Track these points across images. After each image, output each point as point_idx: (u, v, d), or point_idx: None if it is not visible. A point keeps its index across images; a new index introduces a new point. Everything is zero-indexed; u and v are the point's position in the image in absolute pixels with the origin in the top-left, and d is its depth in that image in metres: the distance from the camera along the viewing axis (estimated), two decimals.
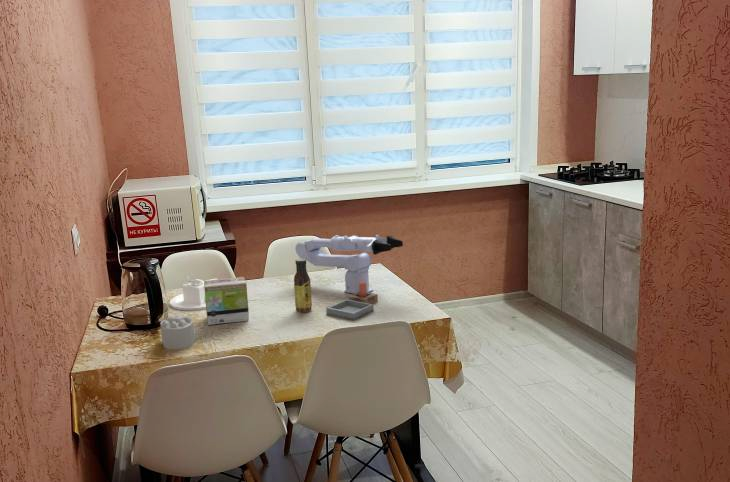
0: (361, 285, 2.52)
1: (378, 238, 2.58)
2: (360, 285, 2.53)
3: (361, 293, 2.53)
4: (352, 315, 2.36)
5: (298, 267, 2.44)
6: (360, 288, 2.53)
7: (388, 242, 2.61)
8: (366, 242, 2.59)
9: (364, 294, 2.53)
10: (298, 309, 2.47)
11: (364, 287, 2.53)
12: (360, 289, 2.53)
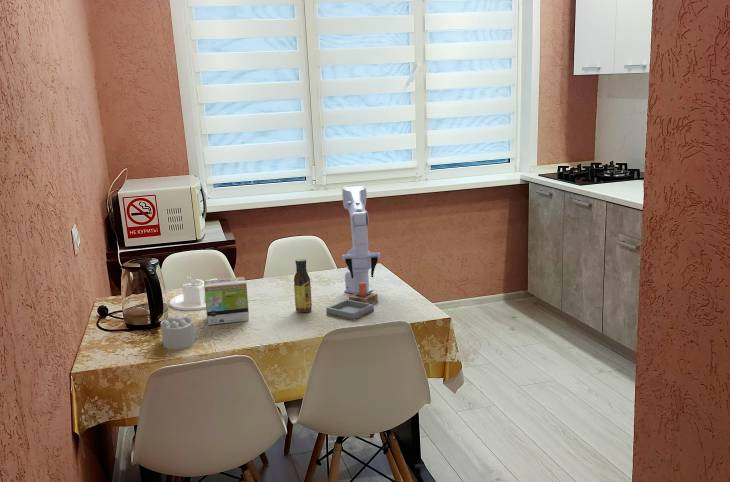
0: (361, 285, 2.52)
1: None
2: (360, 285, 2.53)
3: (361, 293, 2.53)
4: (352, 315, 2.36)
5: (298, 267, 2.44)
6: (360, 288, 2.53)
7: (371, 260, 2.51)
8: (354, 246, 2.49)
9: (364, 294, 2.53)
10: (298, 309, 2.47)
11: (364, 287, 2.53)
12: (360, 289, 2.53)
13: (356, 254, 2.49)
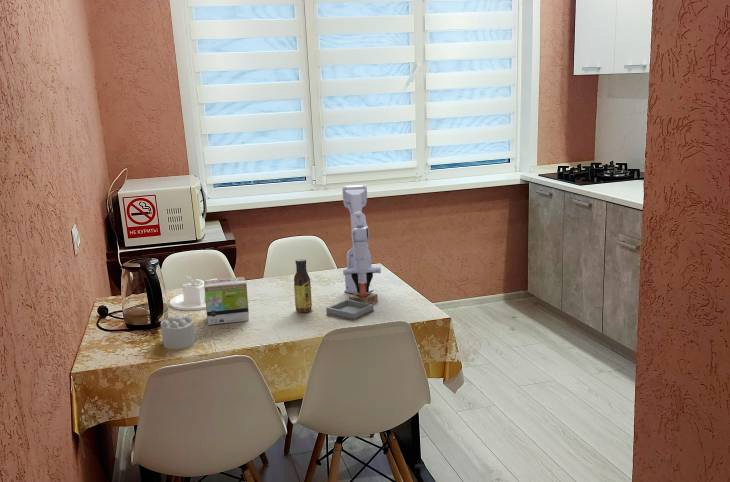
0: (361, 285, 2.52)
1: None
2: (360, 285, 2.53)
3: (361, 293, 2.53)
4: (352, 315, 2.36)
5: (298, 267, 2.44)
6: (360, 288, 2.53)
7: (366, 275, 2.53)
8: (355, 261, 2.50)
9: (364, 294, 2.53)
10: (298, 309, 2.47)
11: (364, 287, 2.53)
12: (360, 289, 2.53)
13: (357, 269, 2.50)
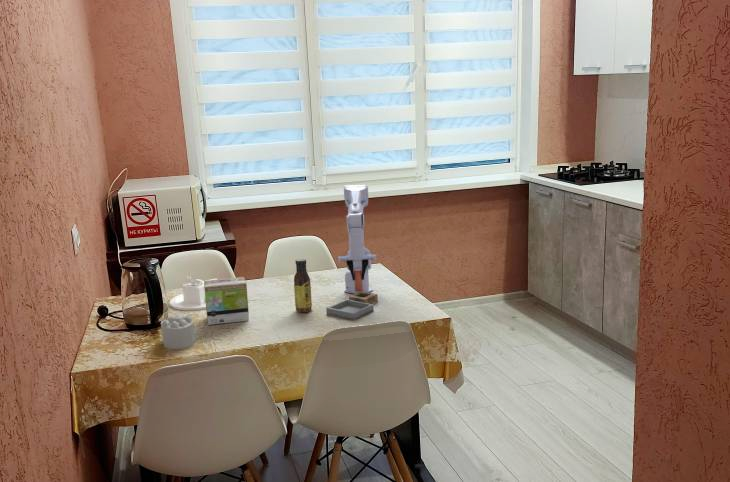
0: (356, 272, 2.48)
1: None
2: (355, 272, 2.48)
3: (356, 281, 2.48)
4: (352, 315, 2.36)
5: (298, 267, 2.44)
6: (355, 275, 2.48)
7: (362, 262, 2.48)
8: (350, 247, 2.46)
9: (359, 282, 2.48)
10: (298, 309, 2.47)
11: (359, 274, 2.48)
12: (355, 277, 2.48)
13: (352, 256, 2.45)
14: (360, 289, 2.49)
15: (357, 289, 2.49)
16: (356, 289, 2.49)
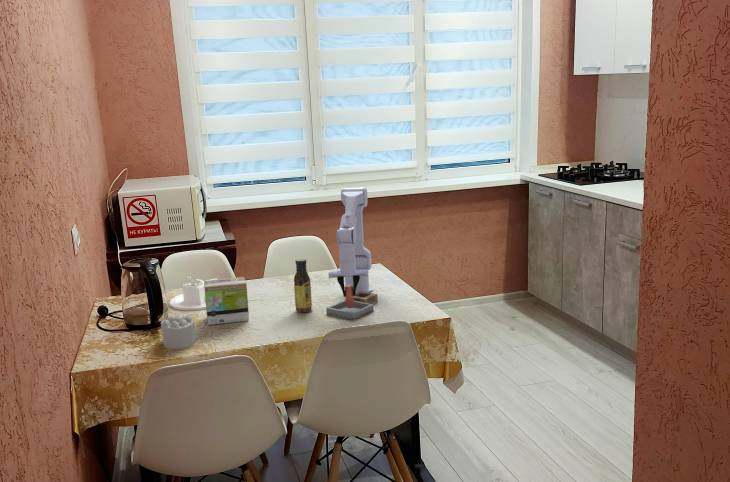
0: (347, 288, 2.41)
1: None
2: (346, 288, 2.41)
3: (347, 297, 2.42)
4: (352, 315, 2.36)
5: (298, 267, 2.44)
6: (346, 292, 2.41)
7: (353, 278, 2.41)
8: (340, 263, 2.39)
9: (350, 298, 2.42)
10: (298, 309, 2.47)
11: (350, 291, 2.41)
12: (346, 293, 2.42)
13: (343, 272, 2.39)
14: (351, 305, 2.42)
15: (348, 305, 2.42)
16: (347, 305, 2.43)
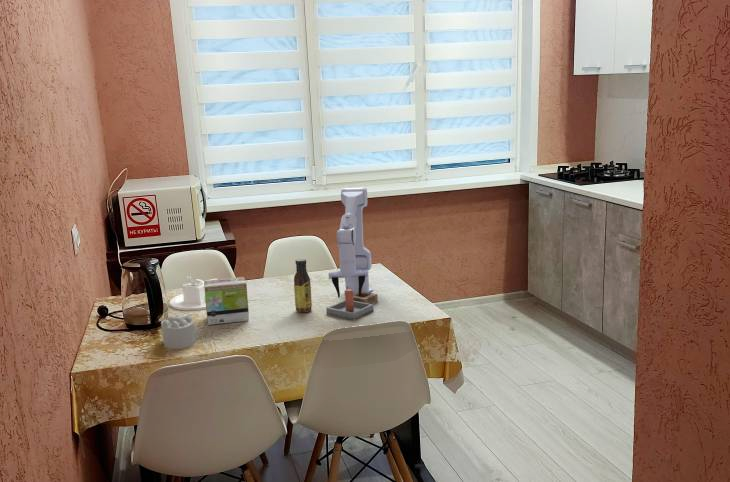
0: (347, 293, 2.41)
1: None
2: (346, 293, 2.41)
3: (347, 301, 2.42)
4: (352, 315, 2.36)
5: (298, 267, 2.44)
6: (346, 296, 2.42)
7: (358, 278, 2.41)
8: (340, 264, 2.39)
9: (350, 303, 2.42)
10: (298, 309, 2.47)
11: (350, 295, 2.42)
12: (346, 297, 2.42)
13: (343, 273, 2.39)
14: (351, 310, 2.43)
15: (348, 310, 2.43)
16: (347, 310, 2.43)
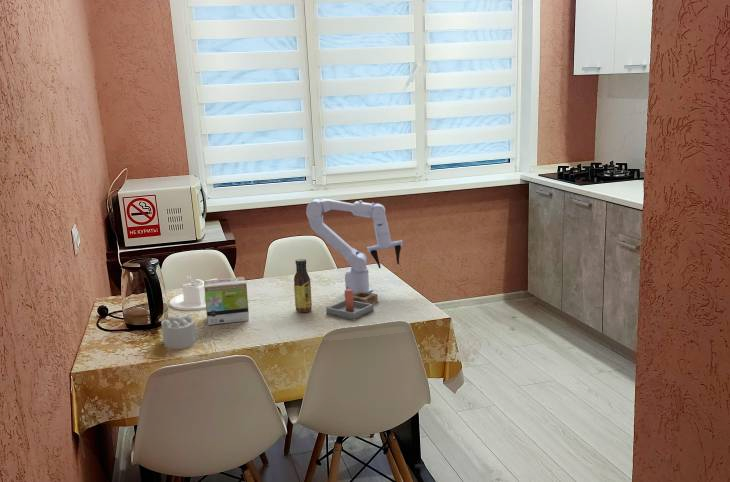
0: (347, 293, 2.41)
1: None
2: (346, 293, 2.42)
3: (347, 301, 2.42)
4: (352, 315, 2.36)
5: (298, 267, 2.44)
6: (346, 296, 2.42)
7: None
8: (376, 237, 2.63)
9: (350, 302, 2.42)
10: (298, 309, 2.47)
11: (350, 295, 2.42)
12: (346, 297, 2.42)
13: (380, 245, 2.63)
14: (351, 310, 2.43)
15: (348, 310, 2.43)
16: (347, 310, 2.43)
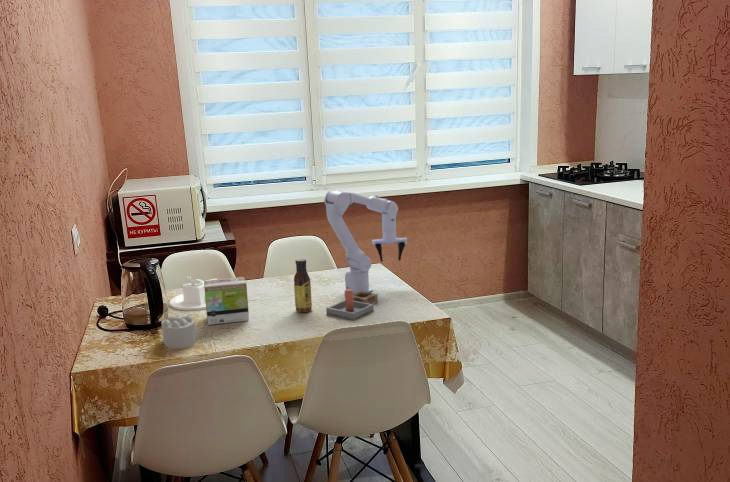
0: (347, 293, 2.41)
1: None
2: (346, 293, 2.42)
3: (347, 301, 2.42)
4: (352, 315, 2.36)
5: (298, 267, 2.44)
6: (346, 296, 2.42)
7: (398, 244, 2.75)
8: (383, 231, 2.72)
9: (350, 302, 2.42)
10: (298, 309, 2.47)
11: (350, 295, 2.42)
12: (346, 297, 2.42)
13: (385, 239, 2.72)
14: (351, 310, 2.43)
15: (348, 310, 2.43)
16: (347, 310, 2.43)
